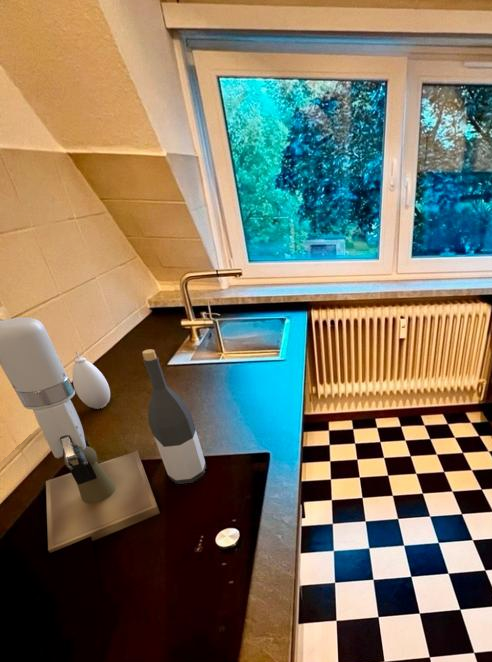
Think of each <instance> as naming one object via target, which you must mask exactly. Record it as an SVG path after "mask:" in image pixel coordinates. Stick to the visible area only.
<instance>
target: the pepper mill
mask: <svg viewBox="0 0 492 662" xmlns="http://www.w3.org/2000/svg"><path fill="white" fill-rule="evenodd" d="M75 449H78V447H77V448H74V450H75ZM83 452H84V454H85V457H86V459H87V461H90V463H91V465H92V467H93V469H94V471H95V473H96V476H97V478H96V479H94V480H91V481H88V482H85V483H82V484H77V486H78V489H79V492H80V495H81V498H82V501H83V502H85V503H98V502H100V501H103V500H105V499H107V498H108V497H110V496H111V495H112V494H113V492H114V491H115V485H114V484H113V483H112V481H111V480H110V479H109V477H108V476H107V475H106V473H105V472H104V470H103V469H102V468H101V466H100V465H99V462H98V454H97V452H96V450H95V449H94V448H93V447H91V446H90V447H88V446H86V448H85V450H84V451H83ZM76 455H77V458H78V457H80V458H81V456H80V453H76ZM63 462H64V464H65V466H66V467H67V468H68V469H69V467H68V464H67V461H66V459H65V456H64V458H63Z"/></svg>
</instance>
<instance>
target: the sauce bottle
mask: <svg viewBox="0 0 492 662" xmlns="http://www.w3.org/2000/svg"><path fill="white" fill-rule="evenodd" d="M74 352H75V354H76V356H77V357H76V358H74V361H73V362H74V364H73V367H72V384H73V385H72V386H73V388H74V391H75V394H76V395H77V397H78V398H79V400H81V402H82V403H83V404H85V405H86V406H87V407H89V408H91V409H96V410H100V408H101V409H103V408H104V407H106V406H107V404H109V403H110V400H111V389H110V386H109V383H108V381H107V379H106V378H105V375H104V374H103V373H102V372H101V370H99V368H97V366H96V365H94V364H93V363H91V362H90V361H89V360H87V359H86V357H83V356H80V355H79V352H78V350H77V349H74Z"/></svg>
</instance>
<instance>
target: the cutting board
mask: <svg viewBox="0 0 492 662" xmlns="http://www.w3.org/2000/svg"><path fill="white" fill-rule="evenodd" d="M98 464H99V465H100V466H101V468H102V469H103V470H104V472H105V473H106V475H107V476H108V477H109V479H110V480H111V481H112V483H113V484H114V485H115V491H114V492H113V494H112V495H111V496H110V497H108V498H107V499H105V500H103V501H100V502H98V503H85V502H83V501H82V498H81V495H80V492H79V489H78V486H77V483H76V481H75V479H74V477H73V475H72V474H71V472H69V473H65V474H63V475H61V476H57V477H53V478H51V479H48V480H45V495H46V499H45V500H46V519H47V520H46V525H47V526H46V527H47V529H46V530H47V551H48V552H49V553H54V552H56V551H59V550H61V549H63V548H65V547H68V546H71V545H73V544H76V543H78V542H81V541H83V540H85V539H87V538H89V537H91V542H95V541H97V540H99V539H101V538H104V537H106V536H108V535H111V534H114V533H116V532H118V531H121V530H123V529H125V528H128V527H130V526H133V525H134V524H135V525H136V524H138V523H140V522H142V521H145V520H147V519H149V518H153V517H155V516H157V515H159V514H160V513H161V512H160V509H159V506H158V503H157V501H156V498H155V495H154V493H153V489H152V487H151V484H150V482H149V479H148V476H147V473H146V471H145V468H144V465H143V462H142V459H141V457H140V455H139V452H138V450H136V451H132V452H130V453H126V454H124V455H121V456H118V457H115V458H112V459H108V460H106V461H102V462H98Z"/></svg>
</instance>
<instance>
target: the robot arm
mask: <svg viewBox="0 0 492 662" xmlns="http://www.w3.org/2000/svg"><path fill="white" fill-rule="evenodd" d="M0 367H1V368H2V370H3V373H4V375H5V376H6V377H7V380H8V381H9V383H10V384H11V386H12V388H13V390H14V391H15V393H16V395H17V397H18V398H19V400H20V402H21V404H22V406H23V408H25V409H26V410H32V411H33V414H34V417H35V419H36V422H37V425H38V426H39V428H40V431H41V432H42V434H43V436H44V439H45V440H46V443H47V444H48V446H49V449H50V451H51V452H52V454H53V456H54V458H55V459H60V458H62V457H63V456H64V457H65V459H66V461H67V464H68V467H69V468H68V467H67V468H68V470H69V473H71V474H72V475H73V477H74V479H75V481H76V483H77V484H82V483H85V482H88V481H91V480H94V479H96V478H97V476H96V473H95V471H94V469H93V467H92V465H91V463H90V461H87V459H86V457H85V454H84V452H83V451H84V450H85V448H86V446H88V447H91V446H90V444H89V441H88V439H87V437H86V436H85V432H84V428H83V424H82V422H81V420H80V417H79V415H78V413H77V410H76V408H75V406H74V403H73V402H72V400H71V399H72V398H74V396H75V395H76V391H75V388H74V385H72V384H73V383H72V382H71V380H70V378H69V375H68V374H67V371H66V369H65V367H64V365H63V363H62V361H61V358H60V356H59V354H58V351H57V350H56V348H55V346H54V344H53V341H52V339H51V337H50V335H49V333H48V331H47V329H46V327H45V325H44V324H43V323H42V322H41V321H40V320H38V319H36V318H33V317H12V318H8V319H0ZM77 447H78V449H75V450H74V448H77ZM76 453H80V456H81V458H80V457H78V458H77V455H76Z"/></svg>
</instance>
